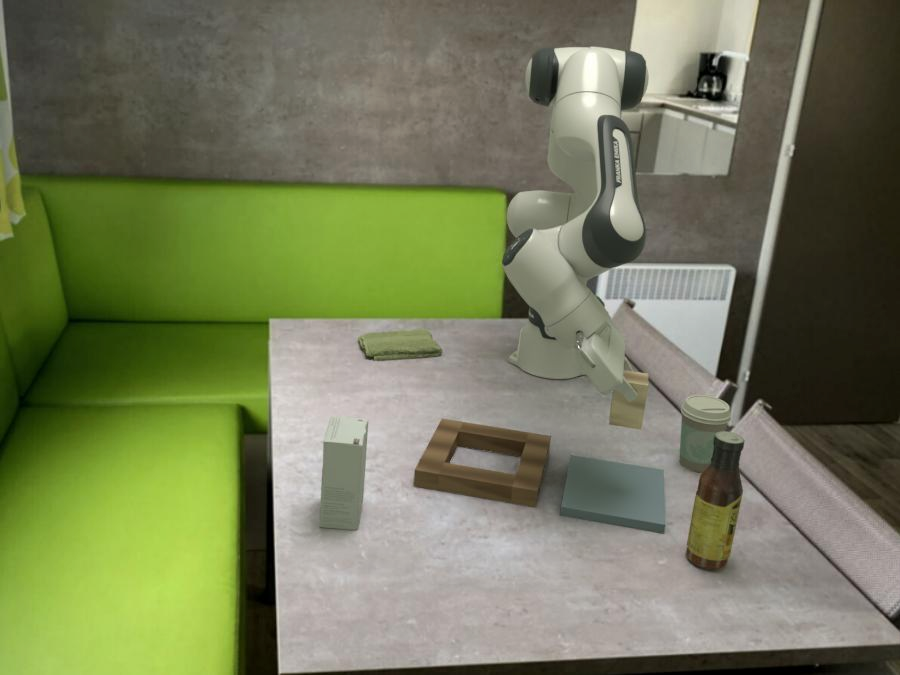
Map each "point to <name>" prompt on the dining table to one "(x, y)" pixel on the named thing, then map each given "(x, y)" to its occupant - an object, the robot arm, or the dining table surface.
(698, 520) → the sauce bottle
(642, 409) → the maple peg
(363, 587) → the dining table surface
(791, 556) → the dining table surface
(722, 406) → the coffee cup
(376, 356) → the washcloth
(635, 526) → the slate pad
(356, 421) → the skincare box
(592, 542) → the dining table surface
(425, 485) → the pocket block
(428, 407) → the dining table surface
